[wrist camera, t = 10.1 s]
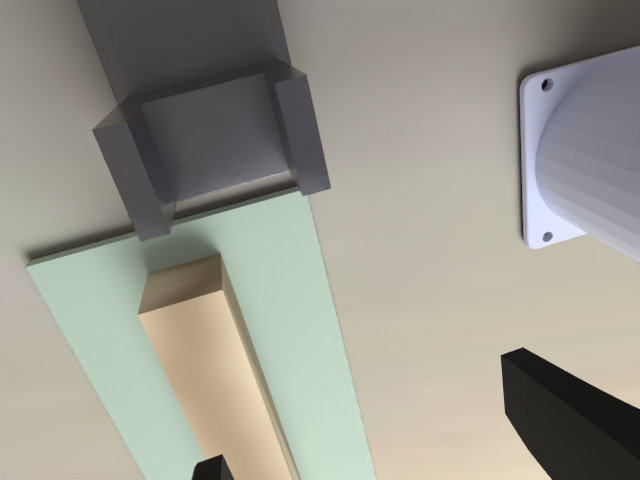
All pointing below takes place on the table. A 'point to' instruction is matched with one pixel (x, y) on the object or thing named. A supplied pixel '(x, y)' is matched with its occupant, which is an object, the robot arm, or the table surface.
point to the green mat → (260, 317)
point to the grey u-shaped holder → (199, 103)
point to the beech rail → (215, 368)
